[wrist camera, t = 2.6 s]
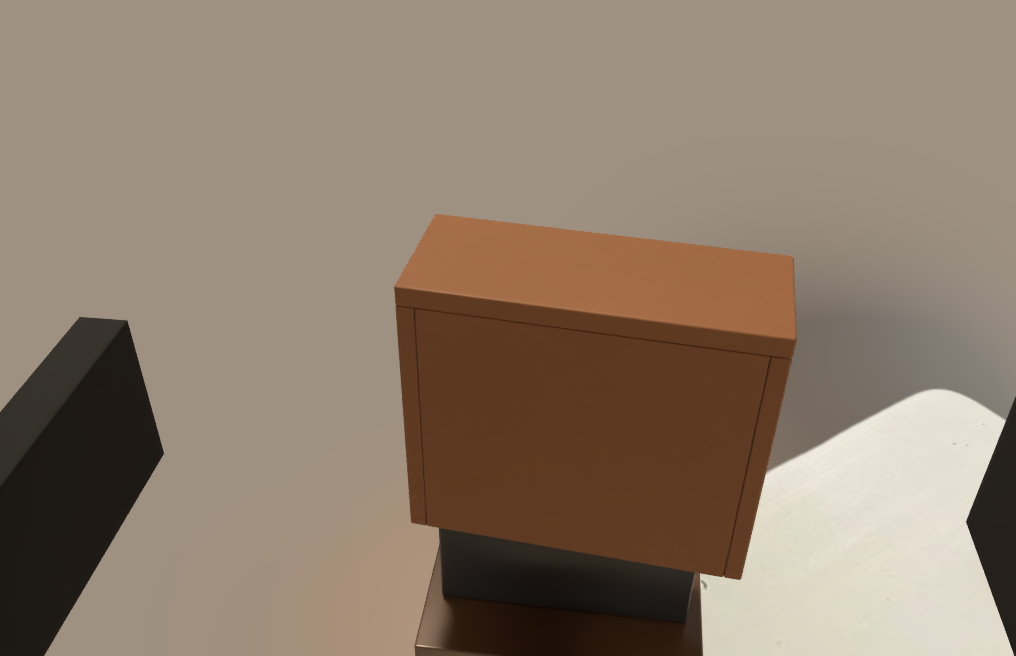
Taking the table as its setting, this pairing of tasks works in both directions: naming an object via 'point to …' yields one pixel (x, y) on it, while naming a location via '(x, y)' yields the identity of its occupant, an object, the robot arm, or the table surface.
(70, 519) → the robot arm
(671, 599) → the wooden block with slab
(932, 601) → the table surface
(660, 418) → the orange brown block
